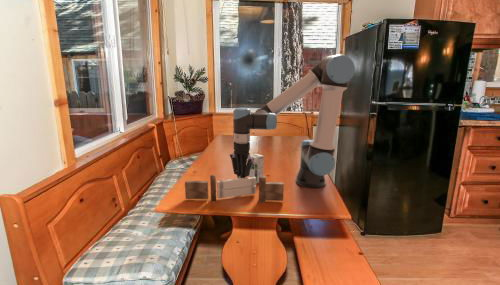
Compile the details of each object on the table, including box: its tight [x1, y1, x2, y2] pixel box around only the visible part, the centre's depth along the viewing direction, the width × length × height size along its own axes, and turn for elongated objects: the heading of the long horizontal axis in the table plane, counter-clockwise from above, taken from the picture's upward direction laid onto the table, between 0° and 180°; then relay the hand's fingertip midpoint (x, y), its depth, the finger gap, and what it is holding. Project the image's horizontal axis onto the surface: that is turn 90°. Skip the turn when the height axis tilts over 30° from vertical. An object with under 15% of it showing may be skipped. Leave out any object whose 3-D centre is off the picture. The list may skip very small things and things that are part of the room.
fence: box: [184, 174, 285, 204], centre depth 131 cm, size 44×3×12 cm, turn 88°
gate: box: [216, 176, 257, 199], centre depth 134 cm, size 18×2×8 cm, turn 108°
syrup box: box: [248, 153, 265, 185], centre depth 153 cm, size 6×6×14 cm
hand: (241, 189), depth 140 cm, fingers closed
